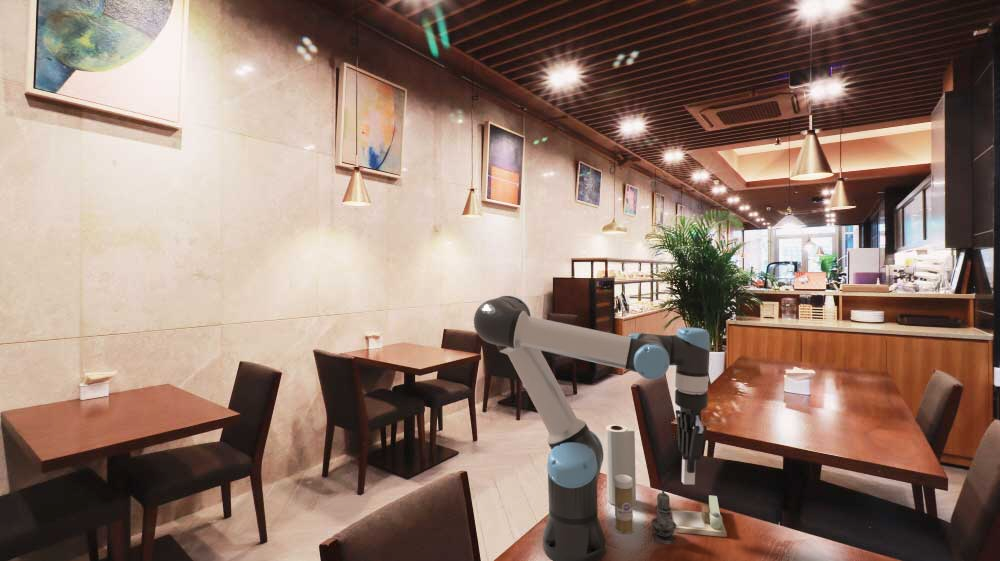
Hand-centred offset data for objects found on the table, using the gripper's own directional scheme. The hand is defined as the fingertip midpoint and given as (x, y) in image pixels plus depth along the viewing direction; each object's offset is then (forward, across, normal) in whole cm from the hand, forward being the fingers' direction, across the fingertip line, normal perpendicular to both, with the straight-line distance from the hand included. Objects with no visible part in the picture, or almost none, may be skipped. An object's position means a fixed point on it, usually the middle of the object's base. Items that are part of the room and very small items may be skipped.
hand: (688, 482), depth 118 cm
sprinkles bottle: (+14, +2, +15) cm, 20 cm away
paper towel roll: (+14, +16, +13) cm, 25 cm away
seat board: (+13, +3, -4) cm, 14 cm away
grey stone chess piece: (+13, -2, +6) cm, 15 cm away
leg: (+11, +4, -9) cm, 15 cm away
